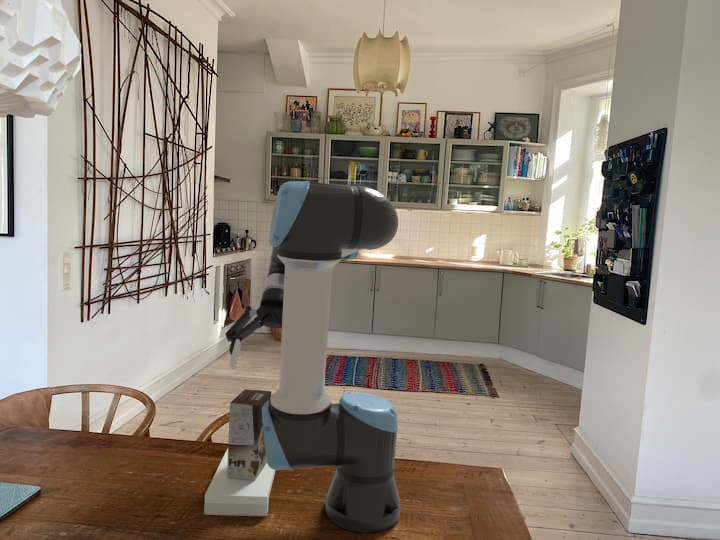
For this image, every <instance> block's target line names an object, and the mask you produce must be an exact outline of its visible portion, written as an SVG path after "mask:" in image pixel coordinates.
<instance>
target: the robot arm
mask: <svg viewBox="0 0 720 540" xmlns="http://www.w3.org/2000/svg"><path fill="white" fill-rule="evenodd" d="M276 193H277V194H276V198H275V201H274V206H273V210H272V214H271V215H272V216H271V223H270V232H269V238H268V239H269V245H271V246H272V249H271V250H272V251H271V256H270V262H269V267H268V272H267V276H266V278H265V279H266V280H265V284H264V288H263V293H262V296H261V299H260V303H259V307H258V308H252V306H250V305H248V306H246V308H245V310H244V312H243V313H242V315H241V316H240V317H239V318H238V319H237V320H236V321H235V322H234V323H233V324H232V326H230V328H229V329H227V331H226V332H225V337H226V340H227V341H228V342H230V346H229V353H230V355H231V356H230V361H229V365H230V369H232V370H236V368H237V363H238V359H239V355H240V351H241V347H242V344H241V342H242V341H244V340H245V339H246V338H248V337H249V335H251V334H252V333H254V332H255V331H257V330H258V329H261V328H262V327H265V328H271V327H272V328H277V329H278V327H281V338H280V340H281V341H280V356H279V357H280V360H279V379H278V389H277V390H276V391H274V393H271V398H270V406H266V407H263V408H262V421H263V432H264V441H265V450H266V458H267V463H268V466H269V467H270V468H271V469H274V470H276V471H283V470H287V471H288V470H289V471H294V470H303V469H314V468H326V467H327V468H329V467H336V471H335V473H334V476H333V478H332V481H331V483H330V486H329V488H328V491H327V494H326V498H325V513H326V515H327V517H328V519H329V520H330V521H331V522H332V523H334V524H335V525H336V526H338V527H340V528H342V529H345V530H347V531H350V532H355V533H362V534H364V533H366V534H368V533H369V534H370V533H376V532H383V531H385V530H387V529H389V528H391V527H393V526H394V525H395V524H396V523H397V521H398V520H399V518H400V515H401V499H400V495H399V491H398V487H397V483H396V480H395V476H394V475H395V462H396V461H395V460H396V447H397V435H398V430H399V427H398V411H397V409H396V407H395V405H394V404H393V403H391V402H390V401H389V400H388V399H386V398H383V397H381V396H379V395H376V394H372V393H367V392H359V391H357V392H356V391H351V392H347V393H343V394H342V395H341V396H340V398H339V401H338V403H332V397H331V396H330V395H329V394H328V392H327V391H325V383H326V382H325V381H326V368H327V352H328V351H327V350H328V338H329V337H328V336H329V325H330V324H329V322H330V307H331V294H332V292H331V291H332V290H331V289H332V276H333V269H334V267H335V266H336V265H338V263H340V262H341V261H349V260H350V261H351V260H352V261H353V260H355V259H357V258H358V255H359V253H360V251H362V250H366V251H371V250H373V251H374V250H377V249H381V248H383V247H385V246H387V245H388V244H389V243H390V242H391V241H392V240H393V239H394V237H395V236H396V234H397V232H398V229H399V228H398V227H399V217H398V213H397V210H396V208H395V206H394V204H393V203H392V202H391V200H390V199H389V198H388V197H387V196H385V195H384V194H383V193H381V192H379V191H378V190H375V189H373V188H371V187H366V186H362V185H349V184H348V185H346V184H335V183H334V184H333V183H325V182H313V181H308V180H306V181H302V180H301V181H300V180H299V181H297V180H296V181H286V182H284V183H282V184H281V185H280V187H279V189H278V191H277V192H276ZM254 316H255V317H254ZM251 319H253V320H251ZM250 320H251V322H249V321H250Z"/></svg>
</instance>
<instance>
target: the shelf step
mask: <svg viewBox="0 0 720 540" xmlns="http://www.w3.org/2000/svg"><path fill="white" fill-rule="evenodd" d="M227 465H228V448H227V449H226V451H225V452H224V455H223V457H222V459H221V461H220V463H219V465H218V467H217V469H216V472H215V474H214V475H213V477H212V479H211V481H210V483H209V485H208V488H207V490H206V491H205V494H204V506H203V507H204V510H203V512H204V513H203V515H204V516H205V515H207V516H208V515H209V516H210V515H211V516H213V515H214V516H237V517H238V516H241V517H247V516H248V517H267V516H268V511H269V501H270V499H269V498H270V494H271V490H272V486H273V482H274V478H275V474H276V471H277V470H274V469H271V468H270V467H269V466H268V463H266V465H265V466H264V468H263V469H262V471H261V472H260V474H259V475H258V477H257V478H256V480H254V481H252V480H245V479H238V478H231V477H227Z"/></svg>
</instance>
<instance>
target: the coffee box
mask: <svg viewBox="0 0 720 540" xmlns="http://www.w3.org/2000/svg"><path fill="white" fill-rule="evenodd" d="M271 396H272V391H271V390H270V391H269V390H264V389H263V390H262V389H260V390H259V389H247V388H246V389H245V388H244V390H242V391H241V392H240V393H239V394H238V395H237V396H236V397H235V398H233V399H232V400H231V401H230V402H229V418H228V419H229V422H228V423H229V424H228V440H227V441H228V443H227V444H228V446H227V449H228V465H227V477H231V478H238V479H245V480H252V481H254V480H256V478H257V477H258V475H259V474H260V472H261V471H262V469H263V468H264V466H265V465H266V463H267V458H266V450H265V441H264V432H263V421H262V408H263V407H266V406H270V398H271Z"/></svg>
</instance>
